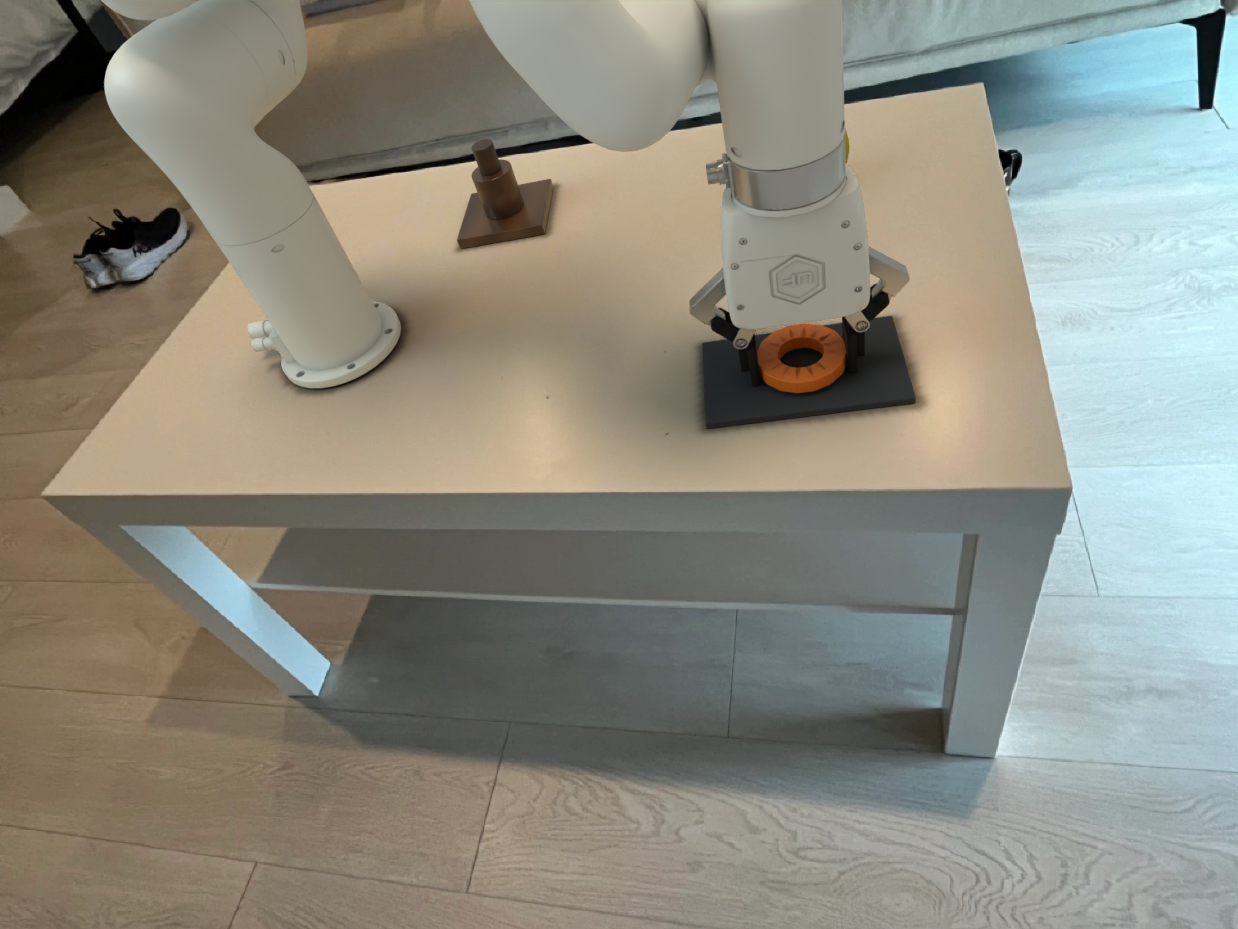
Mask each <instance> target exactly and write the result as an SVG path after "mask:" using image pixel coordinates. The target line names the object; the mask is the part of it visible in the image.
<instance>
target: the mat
mask: <svg viewBox="0 0 1238 929" xmlns="http://www.w3.org/2000/svg"><path fill="white" fill-rule="evenodd" d="M869 323H870V327H869V329H868V330H866V331H865V356H858V357H857V372H854V373H850V371H849V372H848V371H847V366H845V369H844V372H843V374H842V375H841V376H840V377H839V378H837V379H836V380H835V381H834V382H833V383H832V384H830V385H828V386H826V387H823V388H821V389H819V390H817V391H812V392H804V393H791V392H784V391H781V390H778V389H775V388H773V387H771V386H769V385H768V384H766V382H765V381H764V380H763V379H762V377H761V376H760V382H761V383H759V384H758V385H757V386H752V382H751V375H750V371H748V372H741V365H740V358H739V352H738V349H736V348H735V347H734V345H733V342H731V341H730V340H728V339H726V338H724V339H718V340H711V341H705V342H702V344H701V346H702V347H701V348H702V374H703V375H702V376H703V395H704V396H703V400H704V424H705V428H706V429H714V428H721V427H731V426H732V427H733V426H740V425H749V424H755V423H763V422H771V421H772V422H773V421H779V420H787V419H796V418H804V417H811V416H821V415H829V414H836V413H837V414H838V413H845V412H852V411H863V410H869V409H877V408H885V407H894V406H900V405H901V406H902V405H910V404H916V399H917V398H916V394H915V390H914V387H913V383H912V379H911V376H910V373H909V369H908V366H907V362H906V358H905V356H904V353H903V349H902V346H901V342H900V339H899V335H898V332H897V328H896V325H895V321H894V317H893V315H886V316H878V317H875V318H874V319H873V320H872V321H870V322H869ZM822 325H823V324H822ZM823 326H825V327H827V328H830V329H832V330H835V331H836V332H837V333H838V334H839V335H840V336H841V337H842V322H838V323H831V324H824V325H823ZM772 333H773V332H768V333H760V334H755V339H756V347H757V351H758V349H759V347H760V344H761V342H762V341H763V340H765V339H766V338H767V337H768V336H769V335H770V334H772ZM822 357H823V355H822V354H821V353H820V352H819V351H816V350H814V349H811V348H799V349H793V350H791V351H789V352H787V353H786V354H784V355H783V356H782V357H781V359H780V361H781V362H782V363H783V364H785V365H787V366H789V367H795V368H801V367H808V366H811V365H813V364H815V363H817V362H818V361H819V360H820V359H821V358H822Z"/></svg>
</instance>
